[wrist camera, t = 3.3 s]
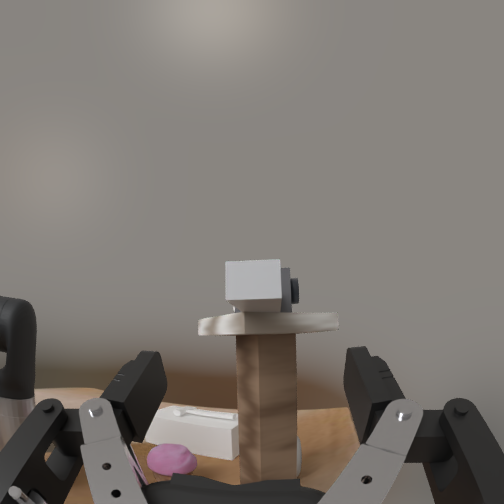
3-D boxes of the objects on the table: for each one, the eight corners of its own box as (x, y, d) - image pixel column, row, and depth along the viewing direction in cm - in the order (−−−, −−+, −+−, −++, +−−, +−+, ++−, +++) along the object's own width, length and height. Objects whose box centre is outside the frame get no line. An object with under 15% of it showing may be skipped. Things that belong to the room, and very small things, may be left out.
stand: (209, 526, 26) (198, 319, 36) (279, 507, 32) (277, 321, 41) (251, 569, 16) (244, 311, 26) (330, 536, 22) (337, 312, 32)
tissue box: (174, 430, 74) (172, 398, 77) (252, 442, 66) (251, 406, 70) (145, 442, 61) (142, 405, 64) (232, 461, 53) (230, 420, 57)
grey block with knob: (317, 296, 18) (311, 221, 19) (201, 300, 18) (203, 226, 20) (296, 318, 37) (295, 280, 38) (240, 320, 37) (239, 282, 39)
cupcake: (208, 490, 38) (205, 446, 41) (171, 505, 31) (165, 457, 34) (177, 475, 43) (173, 434, 46) (141, 485, 37) (135, 441, 39)
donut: (302, 486, 39) (303, 442, 42) (283, 487, 39) (283, 443, 42) (297, 466, 49) (297, 427, 52) (280, 467, 49) (280, 427, 52)
